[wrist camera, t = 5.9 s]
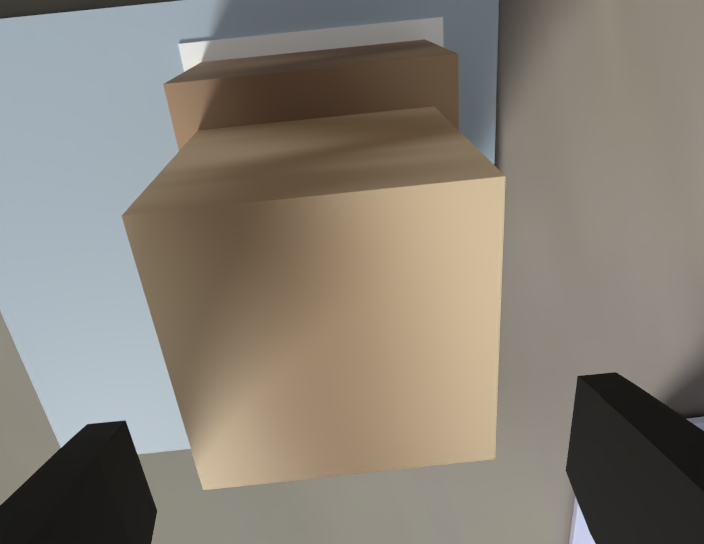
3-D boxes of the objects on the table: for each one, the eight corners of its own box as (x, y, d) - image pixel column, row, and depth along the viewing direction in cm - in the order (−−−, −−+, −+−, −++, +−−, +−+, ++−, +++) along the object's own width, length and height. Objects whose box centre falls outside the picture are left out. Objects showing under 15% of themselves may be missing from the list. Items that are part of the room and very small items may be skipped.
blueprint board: (493, -31, 15) (501, -32, 14) (483, 406, 21) (488, 419, 21) (-108, 30, 15) (-127, 31, 14) (73, 449, 21) (65, 463, 21)
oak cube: (434, 106, 12) (505, 176, 7) (438, 309, 14) (494, 458, 9) (197, 130, 12) (121, 215, 7) (240, 330, 14) (203, 490, 9)
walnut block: (425, 39, 15) (458, 53, 11) (430, 243, 17) (458, 308, 14) (201, 62, 15) (163, 84, 11) (241, 263, 17) (221, 332, 14)
